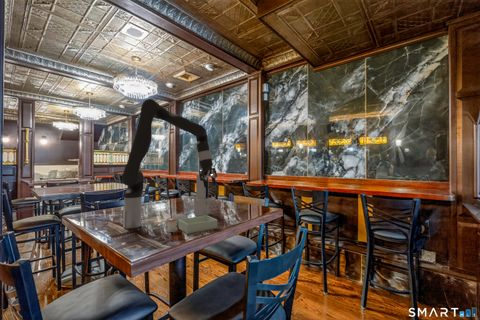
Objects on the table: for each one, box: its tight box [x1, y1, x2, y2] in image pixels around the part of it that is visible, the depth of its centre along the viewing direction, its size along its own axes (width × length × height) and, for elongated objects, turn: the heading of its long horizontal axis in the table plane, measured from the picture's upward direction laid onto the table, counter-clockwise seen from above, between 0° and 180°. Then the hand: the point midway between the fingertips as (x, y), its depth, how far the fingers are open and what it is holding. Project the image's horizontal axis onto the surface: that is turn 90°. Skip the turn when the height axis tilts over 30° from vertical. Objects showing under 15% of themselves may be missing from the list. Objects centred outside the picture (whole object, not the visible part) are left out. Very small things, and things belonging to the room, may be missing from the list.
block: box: [172, 213, 187, 228], centre depth 131 cm, size 6×6×6 cm
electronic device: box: [193, 173, 210, 217], centre depth 157 cm, size 12×8×30 cm, turn 168°
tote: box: [178, 215, 219, 235], centre depth 124 cm, size 18×13×5 cm
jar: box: [166, 217, 177, 233], centre depth 118 cm, size 5×5×7 cm
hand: (210, 186), depth 128 cm, fingers open, 8 cm apart
